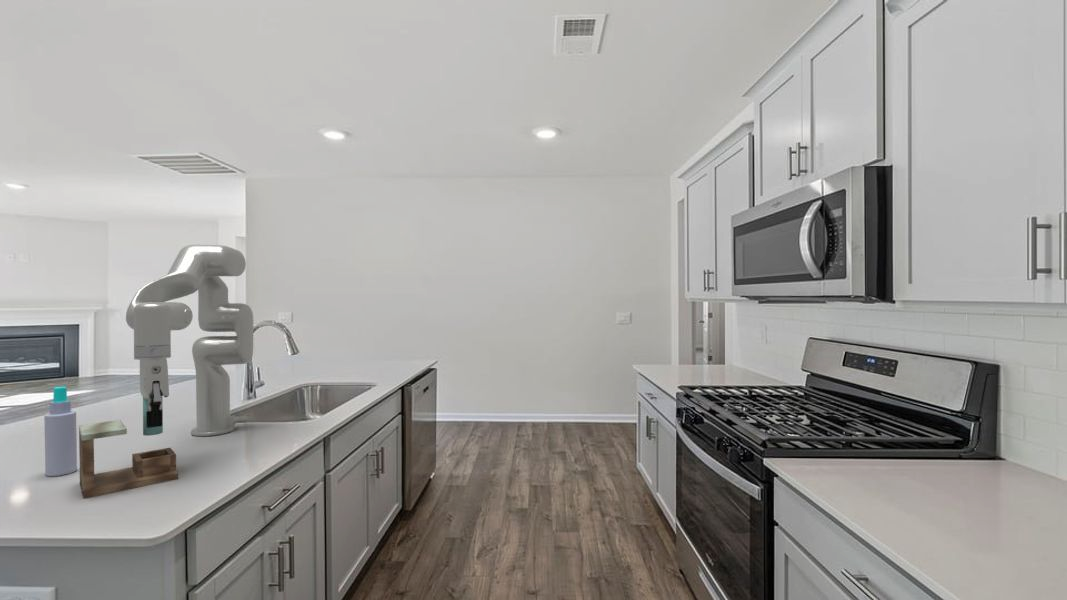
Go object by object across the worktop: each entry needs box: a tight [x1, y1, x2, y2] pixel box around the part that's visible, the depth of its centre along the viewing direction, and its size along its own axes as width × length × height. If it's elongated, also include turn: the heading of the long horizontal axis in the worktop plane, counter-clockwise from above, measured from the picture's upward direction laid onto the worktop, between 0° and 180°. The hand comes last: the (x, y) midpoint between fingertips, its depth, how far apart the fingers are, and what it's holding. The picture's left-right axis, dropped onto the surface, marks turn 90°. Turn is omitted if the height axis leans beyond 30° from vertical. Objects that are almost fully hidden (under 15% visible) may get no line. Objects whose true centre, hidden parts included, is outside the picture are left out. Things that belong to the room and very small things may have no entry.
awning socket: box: [78, 419, 179, 499], centre depth 129 cm, size 18×13×14 cm
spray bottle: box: [44, 386, 78, 477], centre depth 134 cm, size 6×6×22 cm
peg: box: [142, 394, 164, 437], centre depth 132 cm, size 4×4×10 cm
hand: (153, 424), depth 132 cm, fingers closed on peg, 4 cm apart
